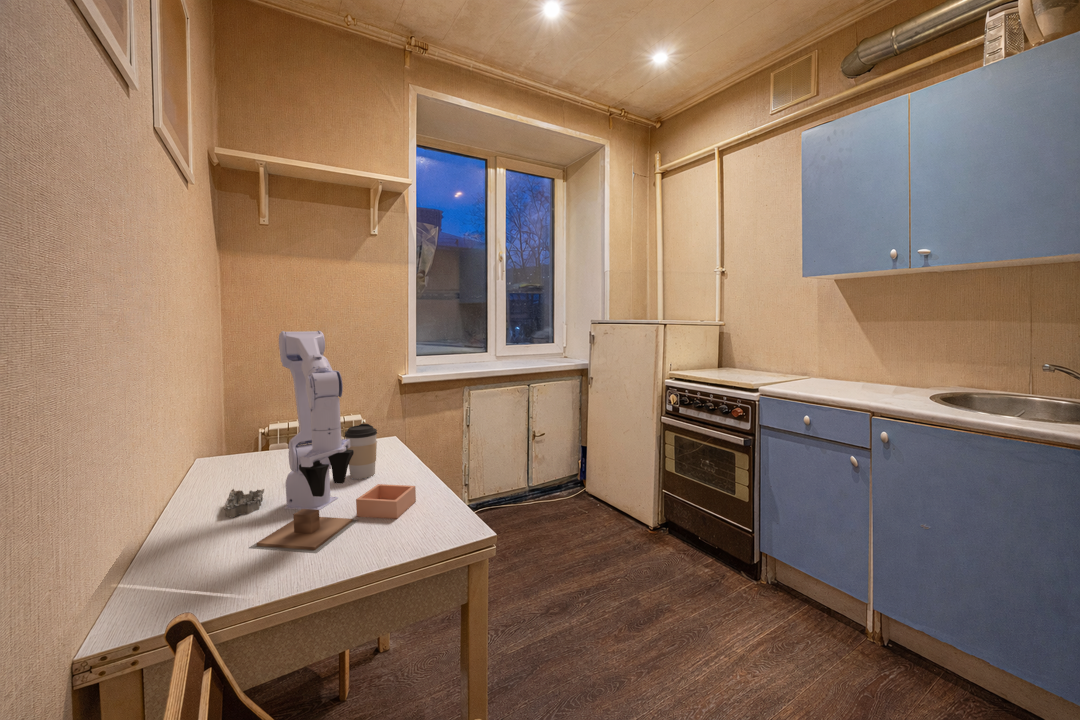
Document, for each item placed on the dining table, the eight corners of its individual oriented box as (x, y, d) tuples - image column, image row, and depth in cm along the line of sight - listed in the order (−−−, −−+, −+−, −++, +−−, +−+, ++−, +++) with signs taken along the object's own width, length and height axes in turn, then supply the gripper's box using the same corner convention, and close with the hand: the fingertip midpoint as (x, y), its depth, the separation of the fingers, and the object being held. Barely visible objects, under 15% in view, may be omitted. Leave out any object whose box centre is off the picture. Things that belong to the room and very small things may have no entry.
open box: (356, 518, 103) (356, 499, 103) (378, 501, 113) (378, 484, 112) (397, 520, 101) (396, 501, 101) (415, 503, 111) (415, 485, 111)
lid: (256, 545, 90) (255, 523, 89) (300, 518, 102) (299, 498, 102) (315, 550, 88) (314, 527, 87) (352, 521, 100) (351, 501, 100)
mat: (248, 549, 89) (248, 547, 89) (299, 517, 104) (299, 516, 104) (316, 554, 86) (316, 552, 86) (359, 521, 101) (359, 519, 101)
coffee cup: (371, 480, 128) (369, 429, 127) (340, 480, 128) (338, 429, 127) (383, 470, 137) (381, 422, 136) (354, 470, 137) (352, 422, 136)
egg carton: (232, 503, 113) (231, 488, 113) (266, 499, 116) (265, 483, 116) (221, 520, 103) (220, 502, 103) (258, 514, 106) (257, 497, 106)
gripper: (322, 436, 88) (325, 503, 89) (361, 420, 102) (363, 478, 103) (290, 435, 89) (293, 501, 90) (333, 420, 103) (335, 477, 104)
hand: (329, 489), depth 97 cm, fingers open, 7 cm apart
